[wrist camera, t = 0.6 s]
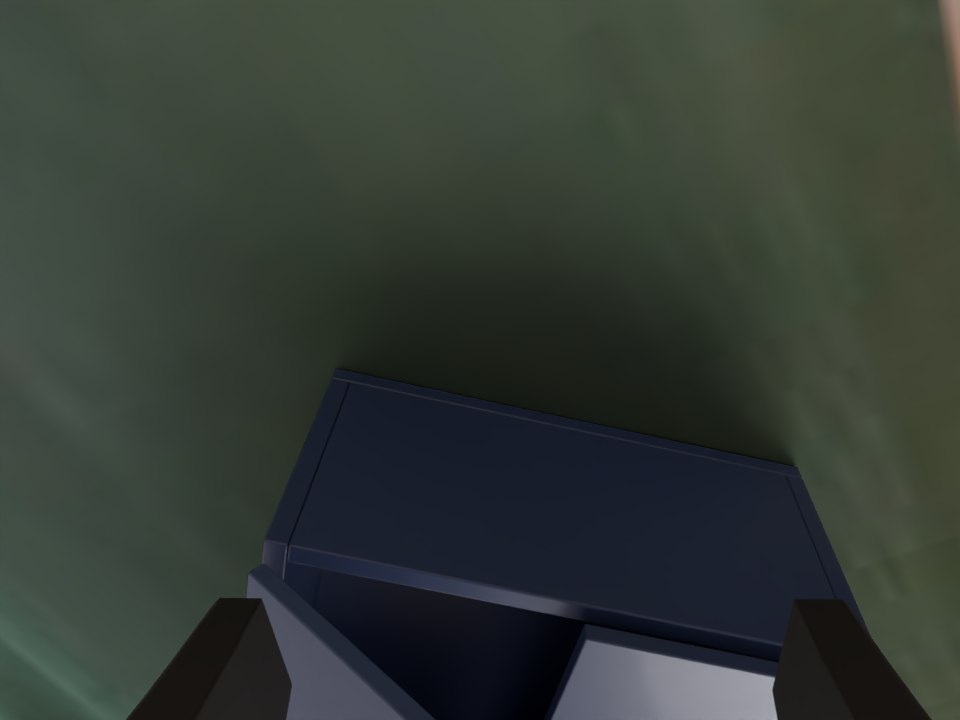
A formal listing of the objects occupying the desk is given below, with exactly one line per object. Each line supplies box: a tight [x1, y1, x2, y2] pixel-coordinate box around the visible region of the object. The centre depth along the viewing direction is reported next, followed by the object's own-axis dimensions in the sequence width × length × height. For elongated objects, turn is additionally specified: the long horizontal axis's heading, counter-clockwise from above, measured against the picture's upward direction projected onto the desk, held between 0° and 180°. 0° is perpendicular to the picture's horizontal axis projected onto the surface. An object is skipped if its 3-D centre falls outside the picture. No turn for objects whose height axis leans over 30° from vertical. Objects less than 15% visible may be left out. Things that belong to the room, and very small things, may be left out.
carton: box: [262, 369, 871, 720], centre depth 22 cm, size 14×13×7 cm
